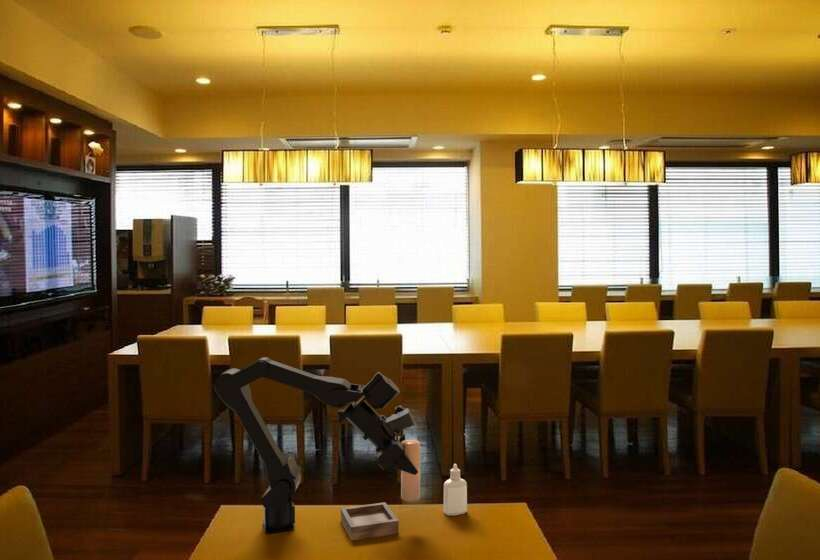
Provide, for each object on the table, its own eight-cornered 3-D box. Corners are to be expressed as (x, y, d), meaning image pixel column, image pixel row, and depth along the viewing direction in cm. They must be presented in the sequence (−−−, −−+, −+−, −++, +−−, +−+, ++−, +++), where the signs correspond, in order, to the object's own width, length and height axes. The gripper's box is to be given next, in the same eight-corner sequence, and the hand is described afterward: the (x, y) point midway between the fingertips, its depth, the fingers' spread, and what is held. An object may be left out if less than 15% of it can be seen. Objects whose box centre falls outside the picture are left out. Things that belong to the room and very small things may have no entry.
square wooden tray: (351, 540, 140) (351, 527, 140) (340, 520, 151) (340, 508, 151) (398, 533, 144) (398, 520, 144) (385, 514, 154) (385, 502, 154)
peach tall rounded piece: (404, 502, 144) (404, 446, 144) (398, 495, 149) (398, 440, 148) (422, 500, 146) (422, 444, 145) (416, 493, 150) (416, 438, 149)
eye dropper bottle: (466, 517, 153) (466, 467, 152) (443, 515, 153) (442, 466, 153) (467, 509, 157) (467, 461, 156) (444, 508, 158) (444, 460, 157)
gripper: (392, 408, 137) (443, 458, 137) (394, 389, 156) (439, 434, 156) (356, 444, 137) (407, 494, 138) (362, 421, 156) (407, 465, 156)
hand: (416, 469), depth 147 cm, fingers closed on peach tall rounded piece, 4 cm apart
